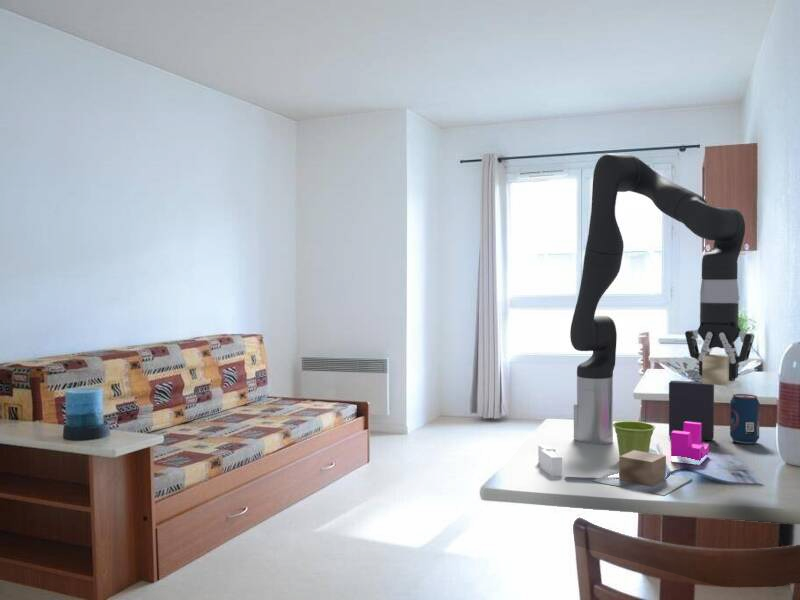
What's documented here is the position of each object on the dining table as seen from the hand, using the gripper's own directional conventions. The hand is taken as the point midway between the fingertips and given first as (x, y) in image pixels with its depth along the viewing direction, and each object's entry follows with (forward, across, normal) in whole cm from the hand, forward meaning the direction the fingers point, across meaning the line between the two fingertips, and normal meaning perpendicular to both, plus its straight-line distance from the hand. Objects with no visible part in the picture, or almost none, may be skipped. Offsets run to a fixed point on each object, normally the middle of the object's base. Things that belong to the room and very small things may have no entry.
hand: (718, 379), depth 151 cm
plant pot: (+22, -19, 0) cm, 29 cm away
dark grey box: (+22, -18, +34) cm, 44 cm away
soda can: (+22, -6, +39) cm, 45 cm away
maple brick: (+1, 0, 0) cm, 1 cm away
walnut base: (+21, -10, -16) cm, 28 cm away
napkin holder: (+22, -29, -20) cm, 42 cm away
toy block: (+22, -10, +12) cm, 27 cm away
